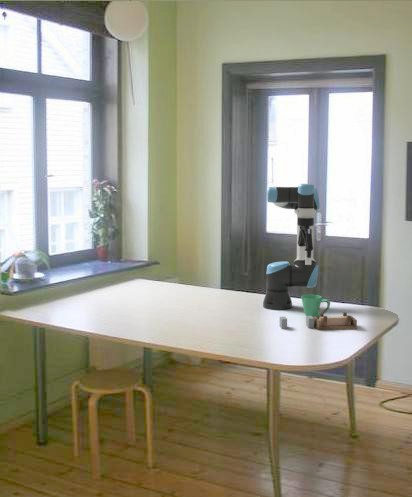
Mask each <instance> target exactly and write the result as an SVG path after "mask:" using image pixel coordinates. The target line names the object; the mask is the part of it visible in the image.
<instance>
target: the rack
mask: <svg viewBox="0 0 412 497" xmlns="http://www.w3.org/2000/svg"><path fill="white" fill-rule="evenodd" d="M319 313H320V316H319V317H323V326H321V321H320V320H319V318H318V316H314V328H316V329H317V330H318V331H332V330H333V331H334V330H335V331H336V330H338V331H339V330H340V329H341V330H357V329H358V325H357V324H358V320H357V319H356V318H355V317H354V316H352V315H350V314H347V312H346V311H344V312H342V316H347V325H331V326H327V317H328V316H327V315H325V313H322V312H319Z"/></svg>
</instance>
